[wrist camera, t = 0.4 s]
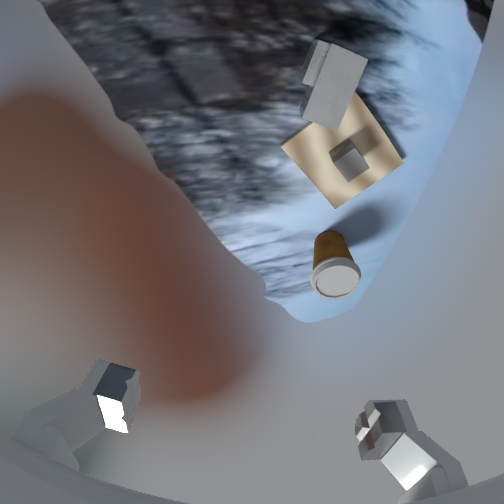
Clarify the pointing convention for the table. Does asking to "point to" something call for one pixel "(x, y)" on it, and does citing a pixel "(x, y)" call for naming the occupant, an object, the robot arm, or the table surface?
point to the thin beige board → (344, 153)
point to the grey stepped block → (329, 82)
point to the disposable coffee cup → (333, 267)
